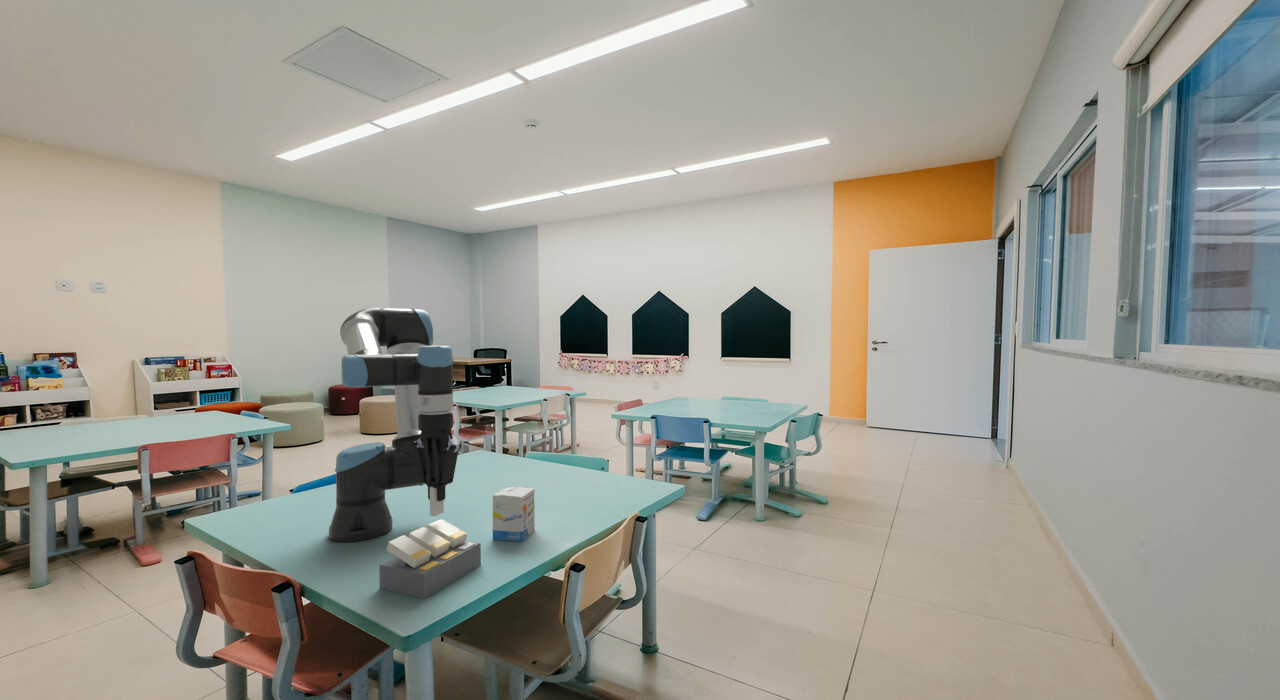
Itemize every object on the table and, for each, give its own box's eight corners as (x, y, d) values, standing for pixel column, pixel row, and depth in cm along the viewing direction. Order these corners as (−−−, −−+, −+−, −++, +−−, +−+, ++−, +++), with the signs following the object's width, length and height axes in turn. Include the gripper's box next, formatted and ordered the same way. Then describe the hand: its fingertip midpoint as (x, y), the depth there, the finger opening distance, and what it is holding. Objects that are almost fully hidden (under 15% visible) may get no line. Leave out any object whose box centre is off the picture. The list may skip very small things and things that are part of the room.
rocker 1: (386, 549, 106) (388, 541, 106) (402, 542, 110) (404, 534, 110) (414, 568, 103) (416, 559, 103) (429, 560, 107) (431, 551, 107)
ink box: (522, 542, 130) (521, 496, 130) (491, 539, 132) (491, 494, 132) (535, 530, 139) (535, 487, 139) (506, 528, 140) (506, 485, 140)
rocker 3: (426, 532, 116) (428, 523, 116) (439, 526, 120) (441, 518, 120) (453, 547, 114) (455, 539, 113) (465, 541, 117) (467, 533, 117)
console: (379, 588, 106) (379, 559, 106) (440, 556, 121) (439, 531, 121) (424, 598, 101) (423, 568, 101) (480, 564, 117) (480, 538, 117)
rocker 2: (407, 540, 111) (409, 532, 111) (421, 534, 115) (423, 526, 115) (434, 557, 108) (436, 548, 108) (448, 550, 112) (450, 541, 112)
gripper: (401, 413, 117) (402, 516, 117) (446, 415, 112) (447, 522, 112) (426, 409, 123) (427, 506, 124) (469, 411, 119) (470, 512, 119)
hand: (436, 514), depth 118 cm, fingers closed
